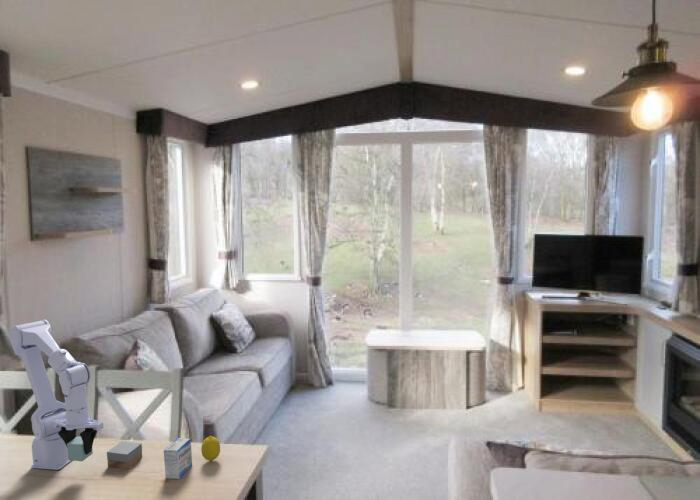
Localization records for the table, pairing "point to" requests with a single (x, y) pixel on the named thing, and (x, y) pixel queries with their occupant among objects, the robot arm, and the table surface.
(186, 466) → the medicine box
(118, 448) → the gray block
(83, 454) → the teal block
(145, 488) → the table surface
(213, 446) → the lemon
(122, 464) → the walnut block
